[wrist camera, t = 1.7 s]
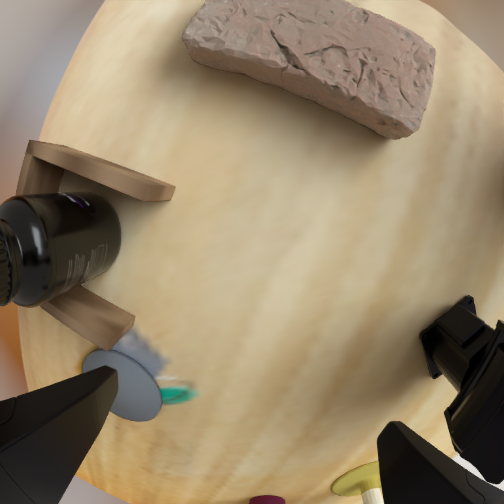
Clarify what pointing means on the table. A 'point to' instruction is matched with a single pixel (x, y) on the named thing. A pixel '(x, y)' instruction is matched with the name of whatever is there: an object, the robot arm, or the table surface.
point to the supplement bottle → (54, 244)
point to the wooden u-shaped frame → (47, 181)
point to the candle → (361, 483)
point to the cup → (267, 500)
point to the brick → (321, 56)
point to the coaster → (128, 385)
